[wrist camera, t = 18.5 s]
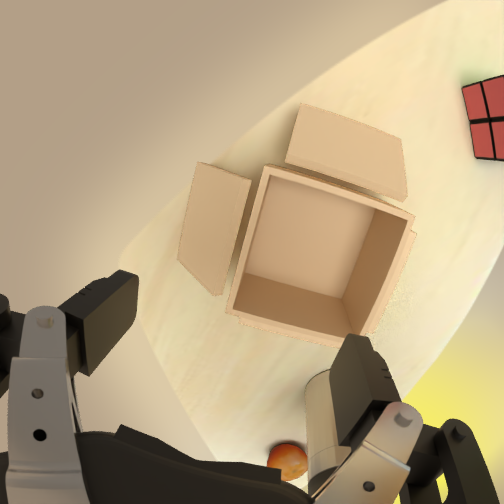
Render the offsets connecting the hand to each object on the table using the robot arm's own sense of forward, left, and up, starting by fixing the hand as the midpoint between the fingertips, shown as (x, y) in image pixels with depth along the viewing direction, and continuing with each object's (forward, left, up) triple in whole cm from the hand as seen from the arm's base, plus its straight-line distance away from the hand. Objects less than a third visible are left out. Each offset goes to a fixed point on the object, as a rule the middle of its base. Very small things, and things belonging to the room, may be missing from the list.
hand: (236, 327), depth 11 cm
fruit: (-43, -17, -26) cm, 53 cm away
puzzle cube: (+22, -27, -26) cm, 43 cm away
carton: (-2, -6, -25) cm, 26 cm away
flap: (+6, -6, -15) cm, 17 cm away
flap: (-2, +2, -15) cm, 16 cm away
